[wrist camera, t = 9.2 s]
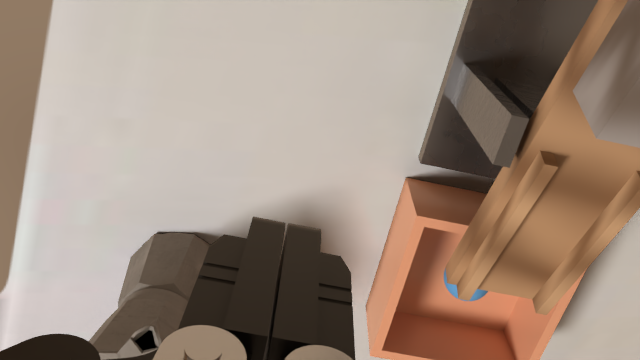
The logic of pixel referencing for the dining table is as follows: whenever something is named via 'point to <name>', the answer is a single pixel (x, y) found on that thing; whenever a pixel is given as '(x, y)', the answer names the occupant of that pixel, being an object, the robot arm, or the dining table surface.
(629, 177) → the lever
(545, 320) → the cup
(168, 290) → the coffeepot
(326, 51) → the dining table surface
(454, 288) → the ball
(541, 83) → the lever stand
